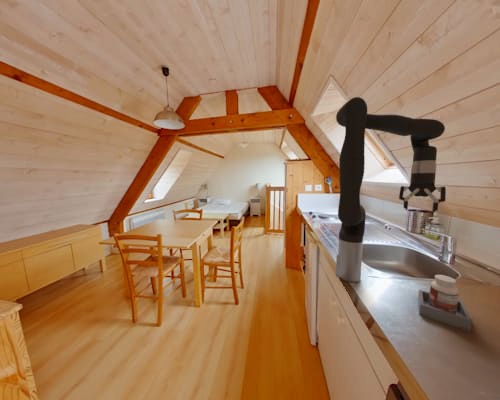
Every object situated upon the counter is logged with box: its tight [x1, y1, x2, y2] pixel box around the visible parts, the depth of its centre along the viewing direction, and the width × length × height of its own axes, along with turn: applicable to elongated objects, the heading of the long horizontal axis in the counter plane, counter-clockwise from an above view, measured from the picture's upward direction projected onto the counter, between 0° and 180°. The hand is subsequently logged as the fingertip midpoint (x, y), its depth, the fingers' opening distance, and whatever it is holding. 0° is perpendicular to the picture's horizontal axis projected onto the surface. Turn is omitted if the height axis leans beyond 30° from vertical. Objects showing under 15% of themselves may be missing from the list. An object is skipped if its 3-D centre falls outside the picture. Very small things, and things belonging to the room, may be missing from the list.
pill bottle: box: [429, 274, 460, 314], centre depth 59 cm, size 6×6×11 cm
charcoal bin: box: [417, 289, 472, 333], centre depth 59 cm, size 11×11×4 cm
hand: (419, 210), depth 78 cm, fingers open, 8 cm apart
